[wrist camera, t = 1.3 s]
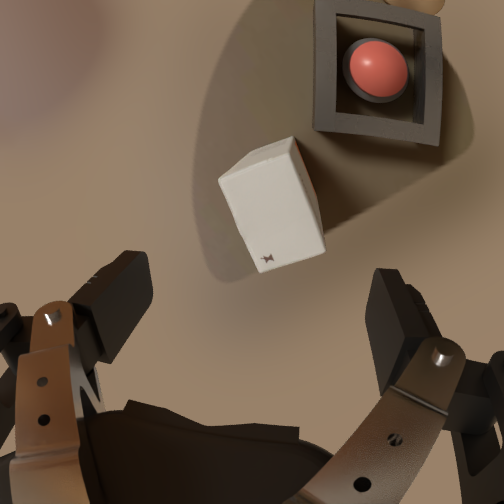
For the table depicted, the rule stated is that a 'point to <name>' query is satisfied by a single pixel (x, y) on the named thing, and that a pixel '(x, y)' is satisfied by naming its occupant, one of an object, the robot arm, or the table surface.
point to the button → (375, 70)
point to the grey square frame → (425, 72)
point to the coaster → (419, 5)
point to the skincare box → (275, 205)
